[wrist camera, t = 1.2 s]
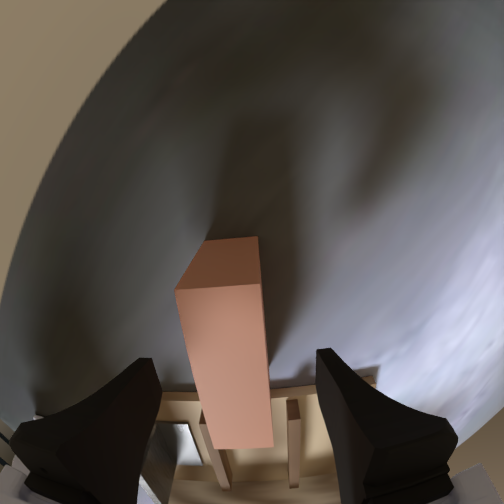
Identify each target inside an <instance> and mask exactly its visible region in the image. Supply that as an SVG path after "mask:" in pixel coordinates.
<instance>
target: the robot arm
mask: <svg viewBox="0 0 504 504" xmlns="http://www.w3.org/2000/svg"><path fill="white" fill-rule="evenodd" d="M315 385H316V391H317V397H318V402H319V406H320V409H321V413H322V416H323V419H324V422H325V425H326V429H327V432H328V435H329V438H330V441H331V445H332V449H333V454H334V459H335V465H336V471H337V478H338V484H339V492H340V500H341V504H503V502H502V500H501V498H500V496H499V494H498V492H497V490H496V488H495V487H494V485H493V483H492V481H491V480H490V478H489V476H488V474H487V472H486V470H485V469H484V467H483V465H482V464H481V463H478V464H476V465H474V466H472V467H470V468H468V469H466V470H464V471H462V472H460V473H458V474H456V475H455V476H453V477H452V478H451V479H450V478H449V476H448V472H449V471H450V468H449V466H448V465H447V461H448V460H449V458H450V456H451V455H452V453H453V451H454V450H455V448H456V445H457V443H458V436H457V435H456V433H455V431H454V429H453V428H452V426H451V425H450V423H449V422H448V421H447V419H446V418H442V417H438V416H434V415H430V414H426V413H423V412H420V411H418V410H415V409H412V408H410V407H407V406H405V405H403V404H401V403H399V402H397V401H395V400H393V399H391V398H389V397H387V396H386V395H384V394H383V393H381V392H379V391H378V390H376V389H375V388H374V387H372V386H371V385H370V384H368V383H367V382H366V381H364V380H363V379H362V378H361V377H360V376H359V375H357V374H356V373H355V372H354V371H353V370H352V369H351V368H350V367H349V366H348V365H347V364H346V363H345V362H344V361H343V360H342V359H341V358H340V357H339V356H338V355H337V354H336V353H335V352H334V350H333V349H331V348H325V349H317V350H316V384H315ZM162 393H163V391H162V388H161V385H160V382H159V379H158V376H157V373H156V370H155V367H154V364H153V361H152V358H139V359H137V360H136V361H135V362H133V363H132V364H131V365H130V366H128V367H127V368H126V369H125V370H124V371H122V372H121V373H120V374H119V375H118V376H116V377H115V378H114V379H113V380H111V381H110V382H109V383H108V384H106V385H105V386H104V387H102V388H101V389H99V390H98V391H97V392H95V393H94V394H92V395H91V396H89V397H88V398H86V399H84V400H83V401H81V402H79V403H77V404H76V405H73V406H71V407H69V408H67V409H65V410H63V411H61V412H58V413H56V414H53V415H50V416H47V417H41V416H38V415H34V417H33V419H34V420H32V421H28V422H23V423H21V424H20V425H19V427H18V428H17V430H16V431H15V433H14V434H13V435H12V437H11V439H10V440H9V444H10V447H11V449H12V450H13V452H14V453H15V457H14V459H13V462H12V467H11V466H9V465H5V467H4V468H3V470H2V471H1V473H0V504H137V496H138V486H139V479H140V473H141V467H142V462H143V457H144V453H145V449H146V446H147V443H148V440H149V437H150V435H151V432H152V429H153V426H154V423H155V421H156V418H157V415H158V412H159V408H160V403H161V398H162Z"/></svg>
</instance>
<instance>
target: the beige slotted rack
mask: <svg viewBox="0 0 504 504" xmlns="http://www.w3.org/2000/svg"><path fill="white" fill-rule="evenodd" d="M361 378H362V379H363V380H364V381H366V382H367V383H368V384H370V385H371V386H372V387H374V388H376V382H375V380H374V378H373V376H367V377H361ZM270 393H271V409H272V425H273V441H274V447H269V448H252V449H214V447H213V444H212V440H211V437H210V434H209V431H208V427H207V424H206V420H205V417H204V413H203V410H202V406H201V403H200V399H199V395H198V392H163V393H162V398H161V403H160V408H159V412H158V415H157V418H156V420H160V421H178V422H188V423H189V426H190V429H191V432H192V434H193V437H194V440H195V443H196V445H197V448H198V451H199V453H200V456H201V459H202V461H203V466H192V465H177V466H176V470H175V475H174V479H173V484H172V488H171V493H170V497H169V502H168V504H341V500H340V492H339V484H338V478H337V471H336V465H335V459H334V454H333V449H332V445H331V441H330V438H329V435H328V432H327V429H326V425H325V422H324V419H323V416H322V413H321V409H320V406H319V402H318V397H317V391H316V385H308V386H299V387H289V388H279V389H270Z"/></svg>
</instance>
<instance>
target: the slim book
mask: <svg viewBox="0 0 504 504" xmlns="http://www.w3.org/2000/svg"><path fill="white" fill-rule="evenodd" d="M174 291H175V296H176V301H177V306H178V311H179V316H180V321H181V325H182V330H183V334H184V339H185V343H186V348H187V352H188V356H189V360H190V364H191V368H192V372H193V376H194V380H195V384H196V388H197V392H198V395H199V399H200V403H201V406H202V410H203V413H204V417H205V420H206V424H207V427H208V431H209V434H210V437H211V440H212V444H213V447H214V449H252V448H269V447H274V441H273V425H272V409H271V393H270V378H269V364H268V352H267V339H266V327H265V315H264V303H263V291H262V280H261V268H260V257H259V245H258V236H253V237H242V238H231V239H220V240H209V241H204V242H203V244H202V245H201V247H200V249H199V250H198V252H197V253H196V255H195V257H194V258H193V260H192V261H191V263H190V265H189V266H188V268H187V270H186V271H185V273H184V275H183V276H182V278H181V279H180V281H179V283H178V284H177V286H176V288H175V289H174Z"/></svg>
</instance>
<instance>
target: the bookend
mask: <svg viewBox="0 0 504 504" xmlns="http://www.w3.org/2000/svg"><path fill="white" fill-rule="evenodd" d="M177 465H192V466H203V461H202V459H201V456H200V453H199V451H198V448H197V445H196V443H195V440H194V437H193V434H192V432H191V429H190V426H189V423H188V422H178V421H160V420H156V421H155V423H154V426H153V429H152V432H151V435H150V437H149V440H148V443H147V446H146V449H145V453H144V457H143V462H142V467H141V473H140V479H139V483H140V484H141V486H142V487H143V489H144V490H145V491H146V493H147V494H148V495H149V497H150V498H151V499H152V500H153V502H154V503H155V504H168V502H169V497H170V493H171V488H172V484H173V479H174V475H175V470H176V466H177Z"/></svg>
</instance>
